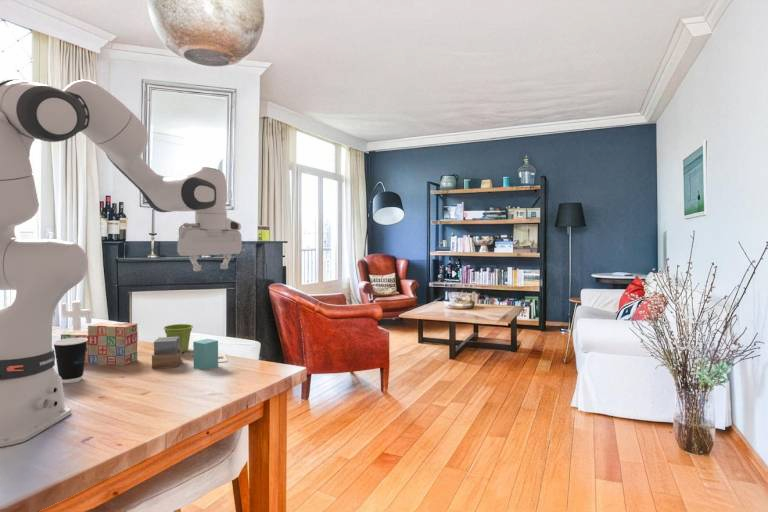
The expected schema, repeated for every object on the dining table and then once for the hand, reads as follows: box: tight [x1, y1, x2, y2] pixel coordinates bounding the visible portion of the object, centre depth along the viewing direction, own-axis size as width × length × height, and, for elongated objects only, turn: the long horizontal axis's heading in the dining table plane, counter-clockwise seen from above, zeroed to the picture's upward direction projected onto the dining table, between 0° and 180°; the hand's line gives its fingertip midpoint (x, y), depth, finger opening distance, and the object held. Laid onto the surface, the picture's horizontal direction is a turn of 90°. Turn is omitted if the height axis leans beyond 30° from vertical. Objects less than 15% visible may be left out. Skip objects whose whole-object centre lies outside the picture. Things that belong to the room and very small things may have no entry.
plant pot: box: [163, 323, 194, 353], centre depth 156 cm, size 9×9×9 cm
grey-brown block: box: [151, 336, 183, 369], centre depth 139 cm, size 7×7×8 cm
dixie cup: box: [52, 338, 88, 384], centre depth 124 cm, size 8×8×11 cm
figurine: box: [61, 299, 92, 334], centre depth 171 cm, size 7×9×15 cm
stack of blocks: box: [60, 321, 138, 366], centre depth 142 cm, size 21×6×12 cm, turn 85°
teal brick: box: [192, 338, 219, 371], centre depth 137 cm, size 5×5×8 cm
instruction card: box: [218, 353, 228, 364], centre depth 147 cm, size 10×8×1 cm
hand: (211, 270), depth 134 cm, fingers open, 8 cm apart
